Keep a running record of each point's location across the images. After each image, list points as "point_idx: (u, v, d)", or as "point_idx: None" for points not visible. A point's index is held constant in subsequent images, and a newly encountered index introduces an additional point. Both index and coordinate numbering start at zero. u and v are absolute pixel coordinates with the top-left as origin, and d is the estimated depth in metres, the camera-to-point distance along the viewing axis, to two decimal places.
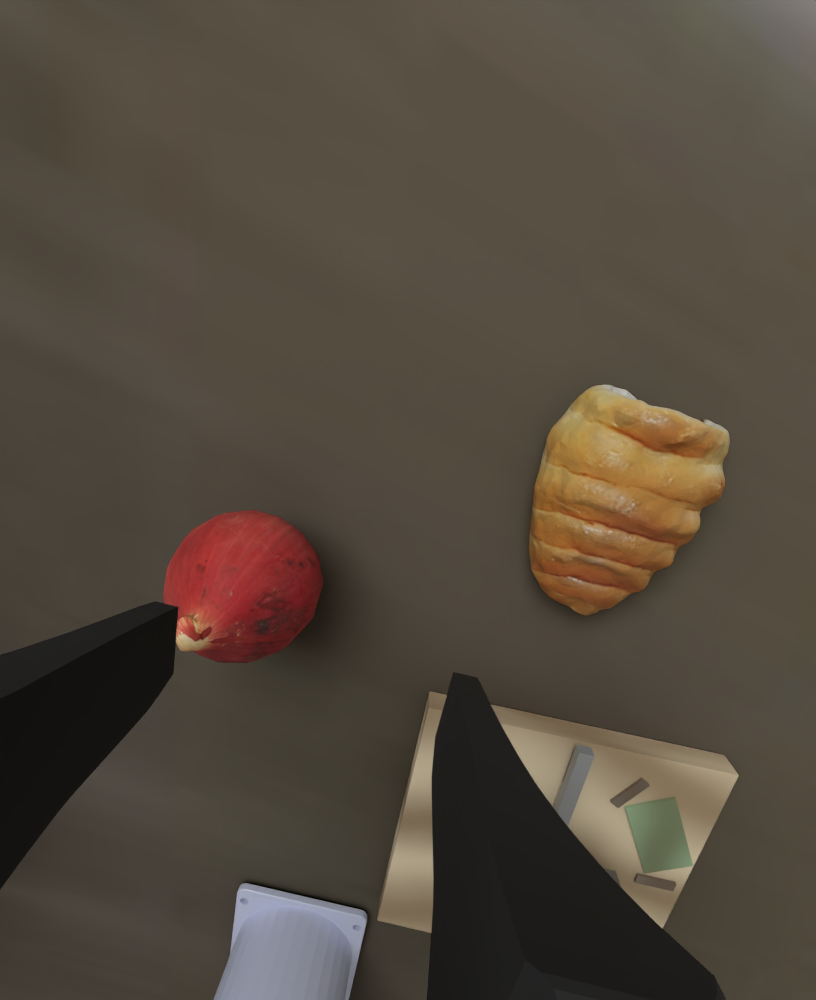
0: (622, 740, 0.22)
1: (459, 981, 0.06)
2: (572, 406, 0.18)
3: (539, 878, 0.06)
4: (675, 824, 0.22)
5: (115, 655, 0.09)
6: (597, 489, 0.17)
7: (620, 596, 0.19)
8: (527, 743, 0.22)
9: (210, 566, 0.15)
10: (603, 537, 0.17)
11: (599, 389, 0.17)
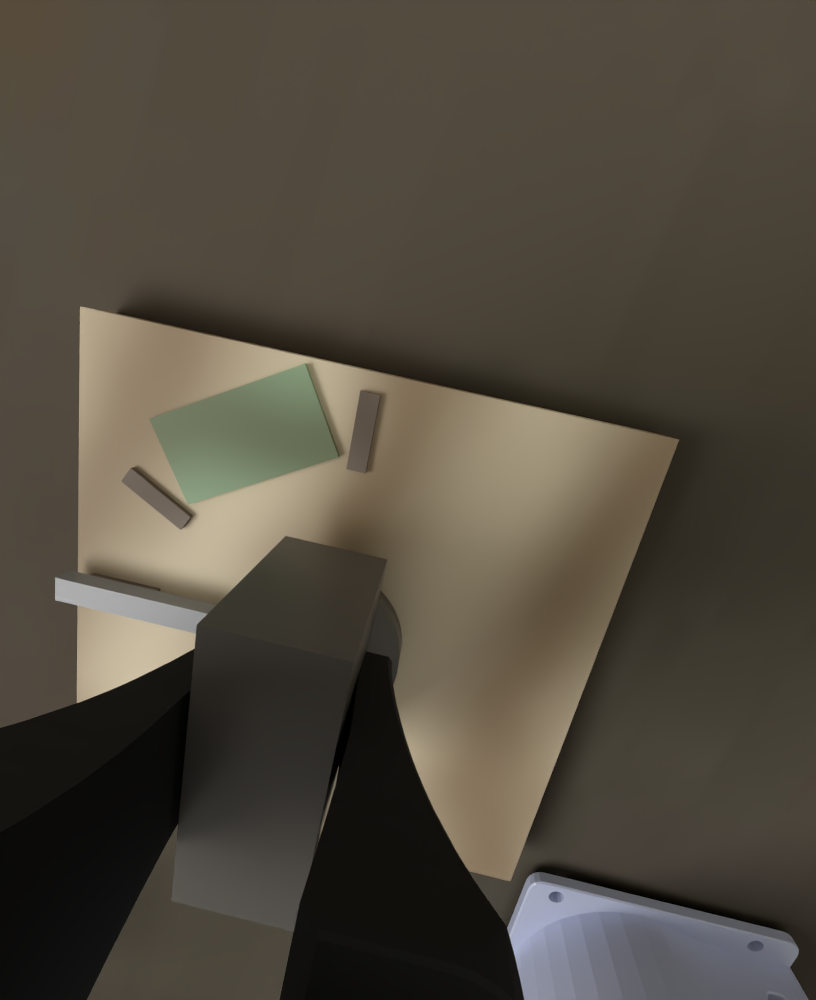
0: None
1: None
2: None
3: (364, 836, 0.06)
4: (205, 413, 0.12)
5: None
6: None
7: None
8: (102, 653, 0.14)
9: None
10: None
11: None
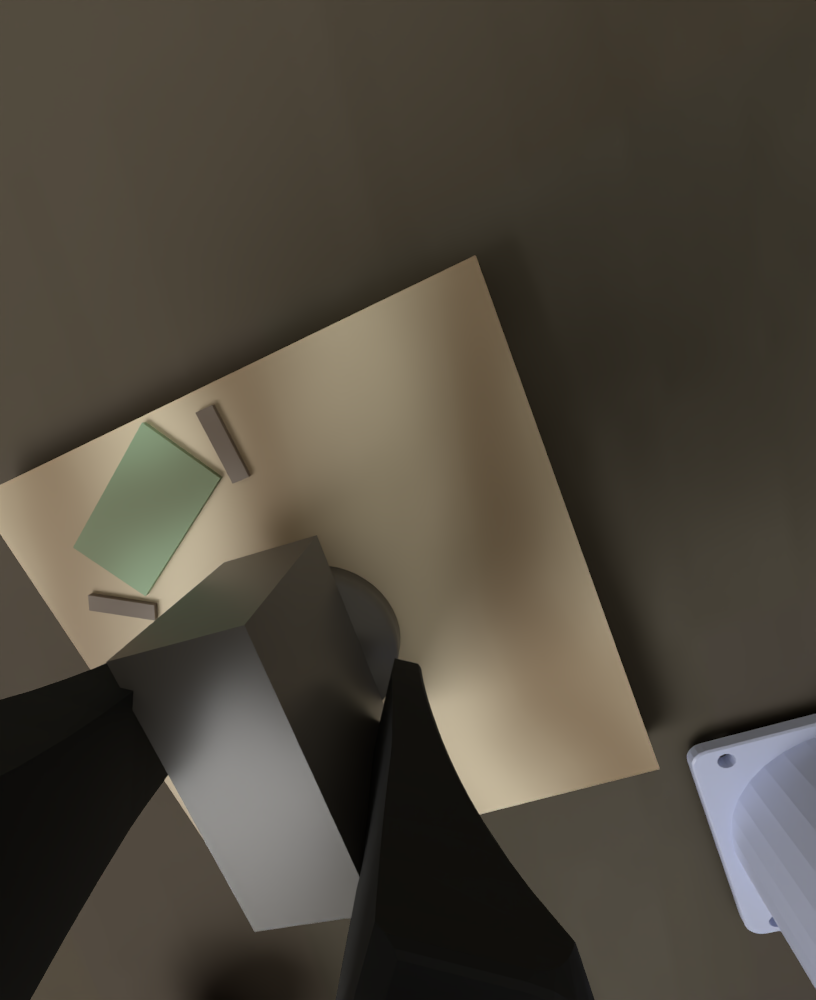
0: None
1: (352, 954, 0.06)
2: None
3: (423, 850, 0.06)
4: (105, 514, 0.13)
5: None
6: None
7: None
8: None
9: None
10: None
11: None
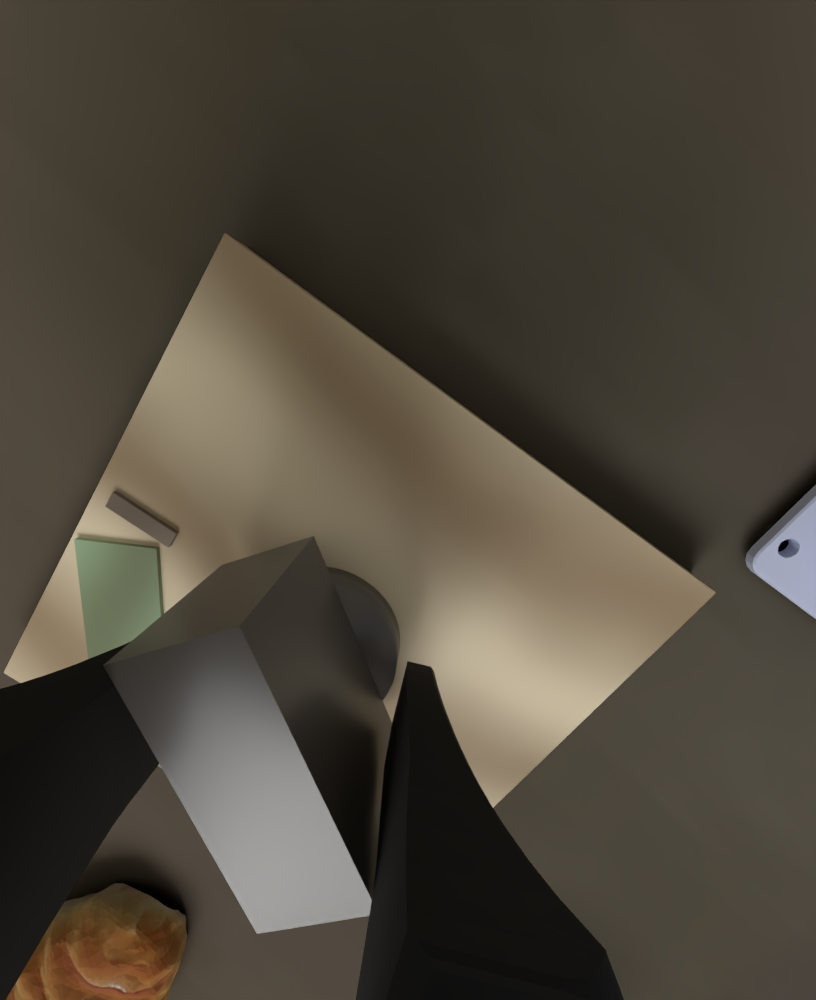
0: None
1: (375, 960, 0.06)
2: None
3: (448, 856, 0.06)
4: (95, 631, 0.14)
5: None
6: None
7: (74, 952, 0.16)
8: None
9: None
10: None
11: None
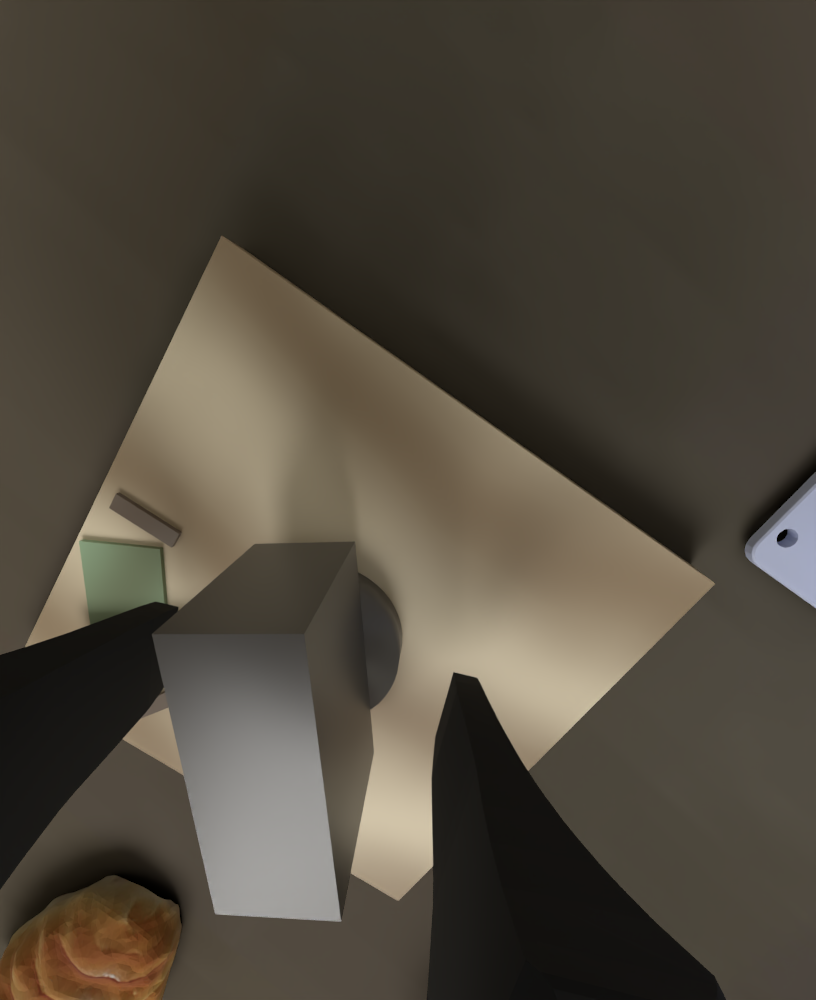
0: None
1: (459, 982, 0.06)
2: None
3: (539, 878, 0.06)
4: None
5: (115, 655, 0.09)
6: None
7: (67, 943, 0.17)
8: None
9: None
10: None
11: None
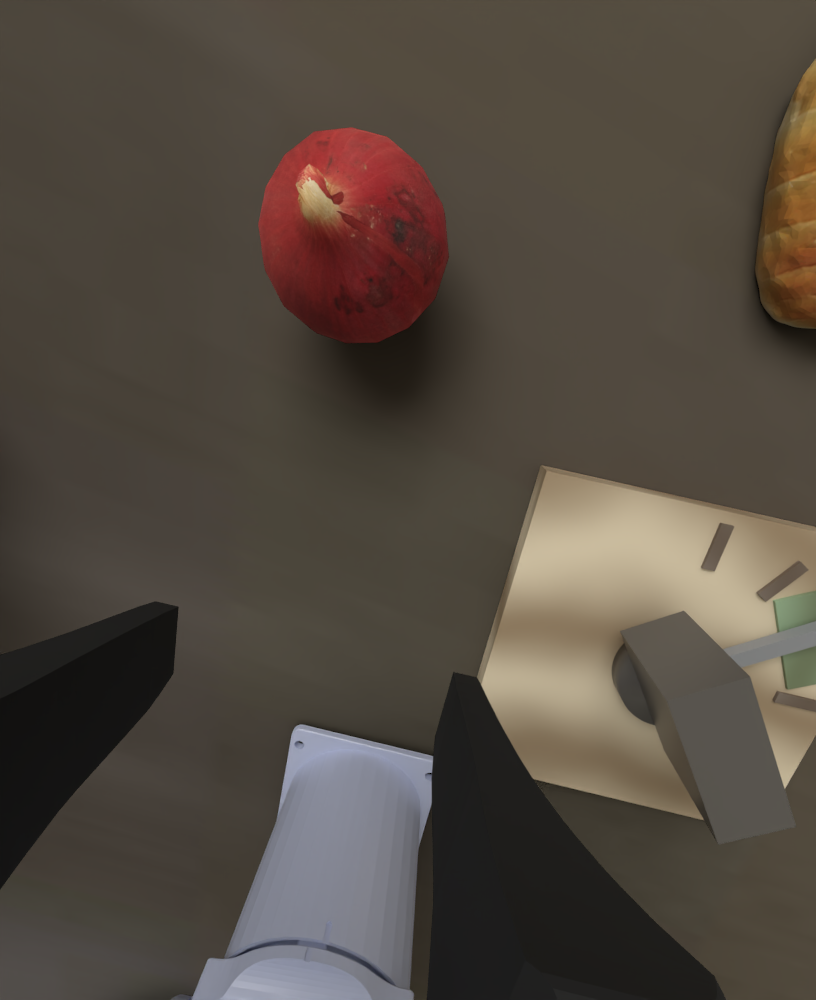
0: (774, 519, 0.19)
1: (460, 981, 0.06)
2: None
3: (538, 878, 0.06)
4: None
5: (115, 655, 0.09)
6: None
7: None
8: (663, 517, 0.18)
9: (335, 140, 0.12)
10: None
11: None
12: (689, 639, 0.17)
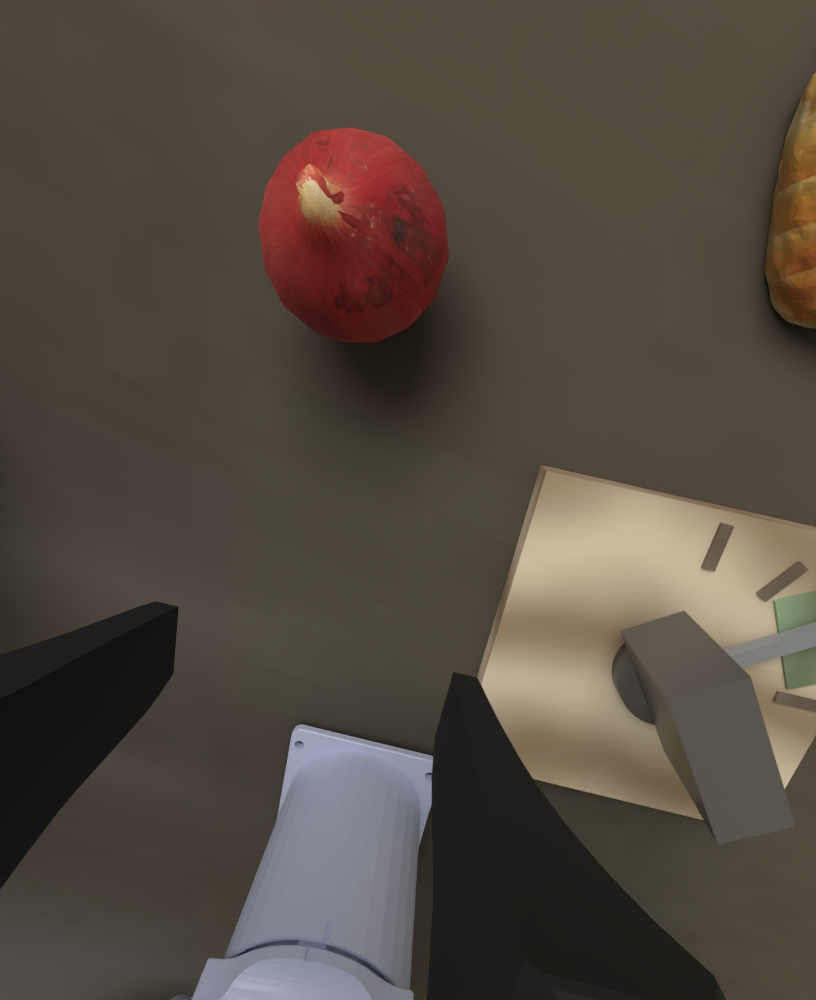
0: (774, 519, 0.19)
1: (460, 981, 0.06)
2: None
3: (538, 878, 0.06)
4: None
5: (115, 655, 0.09)
6: None
7: None
8: (663, 517, 0.18)
9: (335, 140, 0.12)
10: None
11: None
12: (689, 639, 0.17)
